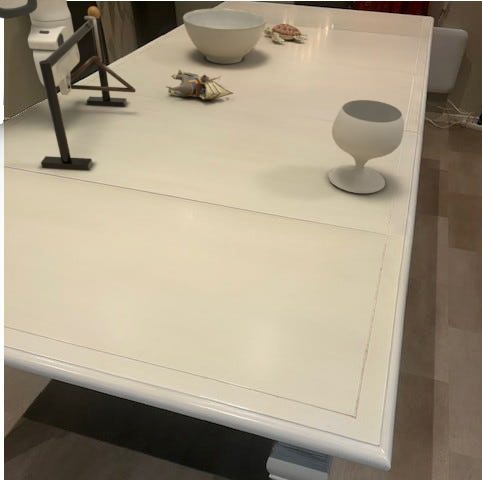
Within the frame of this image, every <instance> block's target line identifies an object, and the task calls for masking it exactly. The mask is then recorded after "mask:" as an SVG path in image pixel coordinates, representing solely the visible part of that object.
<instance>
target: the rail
mask: <svg viewBox="0 0 482 480" xmlns="http://www.w3.org/2000/svg"><path fill="white" fill-rule="evenodd" d="M97 22H98V20H97V19H96V23H97ZM92 28H93V20H86V22H85V23H83V25H82V26H81V27H79V28H78V29H77V30H76V31H74V34H73V35H72V36H71V37H70V38H69V39H68V40H66V41H65V42H64V43H63V44H62V45H61V46H60V47H59V48H58V49H57V50H56V51H54V52H53V53H52V54H51V55H50V56H49V57H48V58H47V59H46V60H43V61H40V62H39V64H40V69H41V73H42V78H43V82H44V90H45V94H46V99H47V104H48V107H49V112H50V116H51V121H52V125H53V129H54V134H55V138H56V144H57V147H58V151H59V156H51V155H50V156H48V155H45V156H44V158H43V159H42V160H41V161H40V164H41V168H43V169H60V170H61V169H62V170H76V171H77V170H78V171H79V170H80V171H89V170H90V169H91V168H92V165H93V159H92V158H89V157H88V158H87V157H86V158H85V157H72V156H71V152H70V147H69V143H68V138H67V134H66V133H67V132H66V129H65V123H64V119H63V114H62V110H61V106H60V105H61V104H60V100H59V95H58V92H57V87H56V86H55V81H54V77H53V72H52V67H53V66H54V65H55V64H56V63H57V62H58V61H59V60H60V59H61V58H62V57H63V56H64V55H65V54H66V53H67V52H68V51H69V50H70V49H71V48H72V47H73V46H74V45H75V44H76V43H77V44H78V42H80V41H81V40H82V38H84V37H85V36H86V35H87V33H89V32H90V31H92Z"/></svg>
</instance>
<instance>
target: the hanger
mask: <svg viewBox="0 0 482 480" xmlns="http://www.w3.org/2000/svg"><path fill="white" fill-rule="evenodd" d="M83 18H84V20H85V21H88V20H93V27H94V33H95V40H96V47H97V53H98V56H96V55H92V57H90V58H89V59H88V60H86V61H85V62H84V63H83V64H82V65H81V66H79V68H78V69H76V70H75V71H74V72H73V73H72V74H71V77H70V83H72V82H73V81H74V80H75V79H76V78H77V77H78V76H79V75H81V74H82V72H84V71H85V70H86V69H87V68H88V67H89V66H90V65H91V64H93V63H95V64H96V65H97V64H98V65H99V66H100V67H102V68H103V69H104V70H105V71H106V72H107V74H109V75H110V76H112V77H113V78H114V79H115V80H117V81H118V82H119V83H121V85H123V86H124V87H123V86H120V87H119V86H109V87H104V86H101V85H99V86H98V85H85V84H83V85H82V84H70V85H71V90H81V91H83V90H84V91H100V92H102V91H109V92H119V93H136V92H137V90H136V88H135V87H134V86H132V85H131V84H130V83H129V82H127V81H126V80H125V79H124V78H122V77H121V76H120V75H119V74H117V73H116V72H115V71H114V70H113V69H111V68H110V67H109V66H107V65H106V63H105V64H103V63H102V57H101V50H100V43H99V37H98V30H97V23H96V18H95V17H93V16H89V15H85V16H84V17H83ZM98 65H97V66H98Z"/></svg>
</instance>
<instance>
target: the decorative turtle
mask: <svg viewBox="0 0 482 480" xmlns="http://www.w3.org/2000/svg"><path fill="white" fill-rule="evenodd" d="M263 33H264V34H265V35H267V36H271V39H272V40H273V41H274V42H277V43H283V42H285V40H297V41H306V38H305V37H307V36H308V33H304V32H301V31H300V29H298V28H297V27H295V26H293V25H292V24H288V23H280V24H277V25H274V26H273V27H265V28H264V30H263Z"/></svg>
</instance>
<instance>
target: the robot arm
mask: <svg viewBox="0 0 482 480" xmlns="http://www.w3.org/2000/svg"><path fill="white" fill-rule="evenodd" d="M27 15H29V17H30V23H31V25H30V31H29V34H28V37H27V44H28V47H29V49H31V50H32V56H33V61H34V66H35V69H36V72H37V76H38V79H39V81H40V83H41V85H42V86H44V82H43V78H42V73H41V69H40V64H39V62H40V61H43V60H46V59H47V58H48V57H49V56H50V55H51V54H52V53H53V52H54V51H56V50H57V49H58V48H59V47H60V46H61V45H62V44H63V43H64V42H65V41H66V40H68V39H69V38H70V37H71V36H72V35H73V34H74V33H75V30H74V25H73V20H72V14H71V12H70V9H69V7H68V1H67V0H0V19H5V20H6V19H14V18H19V17H23V16H27ZM80 59H81V58H80V51H79V46H78V42H77V43H76V44H75V45H74V46H73V47H72V48H71V49H70V50H69V51H68V52H67V53H66V54H65V55H64V56H63V57H62V58H61V59H60V60H59V61H58V62H57V63H56V64H55V65H54V66H53V67H52V72H53V77H54V81H55V86H56V88H57V87H58V88H59V90H60V94H61V95H62V96H68V95H69V94H70V92H72V89H71V85H72V84H71V82H70V77H71V75H72V74H71V72H72V71H73V69H74V68H75V67H76V66H77V65H78V64H79V63H80ZM44 87H45V86H44Z"/></svg>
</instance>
